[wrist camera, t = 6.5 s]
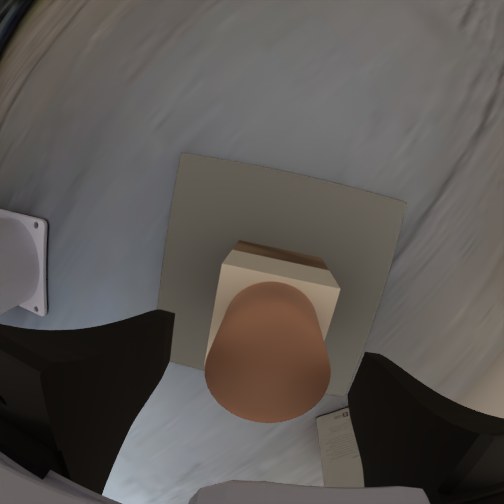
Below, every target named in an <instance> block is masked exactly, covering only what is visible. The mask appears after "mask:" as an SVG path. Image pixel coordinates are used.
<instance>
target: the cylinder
mask: <svg viewBox="0 0 504 504" xmlns="http://www.w3.org/2000/svg"><path fill="white" fill-rule="evenodd" d="M330 377H331V367H330V362H329V358H328V354H327V350H326V347H325V343H324V340H323V336H322V332H321V329H320V325H319V322H318V318H317V315H316V311H315V309H314V307H313V304H312V303H311V301H310V300H309V299H308V298H307V296H306V295H305V294H304V293H302V292H301V291H300V290H298V289H297V288H295V287H293V286H291V285H288V284H285V283H281V282H273V281H269V282H260V283H256V284H253V285H251V286H249V287H247V288H245V289H243V290H242V291H241V292H239V293H238V294H237V295H236V296H235V297H234V298H233V300H232V301H231V303H230V304H229V306H228V308H227V310H226V313H225V315H224V318H223V320H222V322H221V325H220V327H219V329H218V332H217V334H216V336H215V339H214V341H213V343H212V346H211V348H210V350H209V353H208V355H207V358H206V362H205V379H206V383H207V386H208V388H209V390H210V392H211V394H212V395H213V397H214V398H215V399H216V401H217V402H218V403H219V404H220V405H221V406H223V407H224V408H225V409H226V410H228V411H229V412H231V413H233V414H234V415H236V416H239V417H241V418H244V419H247V420H250V421H255V422H263V423H275V422H282V421H287V420H290V419H293V418H296V417H298V416H300V415H303V414H304V413H306V412H307V411H309V410H310V409H312V408H313V407H314V406H315V405H316V404H317V403H318V402H319V401H320V400H321V398H322V397H323V396H324V394H325V392H326V390H327V388H328V385H329V382H330Z"/></svg>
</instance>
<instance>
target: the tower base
mask: <svg viewBox="0 0 504 504" xmlns="http://www.w3.org/2000/svg"><path fill="white" fill-rule="evenodd" d="M232 250H237V251H241V252H246V253H250V254H255V255H260V256H264V257H269V258H273V259H278V260H283V261H287V262H292V263H296V264H301V265H306V266H310V267H315V268H320V269H324V270H329V269H328V268H327V266H326V264H325V263H324V261H323V259H322V258H320V257H315V256H310V255H306V254H301V253H297V252H292V251H288V250H283V249H278V248H274V247H269V246H265V245H260V244H255V243H251V242H246V241H241V240H239V241H238V242H237V244H236V245H235V246H234V248H233V249H232Z"/></svg>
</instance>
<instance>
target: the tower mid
mask: <svg viewBox="0 0 504 504" xmlns="http://www.w3.org/2000/svg"><path fill="white" fill-rule="evenodd" d="M269 281H273V282H281V283H285V284H288V285H291V286H293V287H295V288H297V289H298V290H300V291H301V292H302V293H304V294H305V295H306V296H307V298H308V299H309V300H310V301H311V303H312V304H313V307H314V309H315V311H316V315H317V318H318V322H319V325H320V329H321V332H322V336H323V340H324V341H325V338H326V335H327V332H328V329H329V325H330V322H331V319H332V316H333V313H334V309H335V306H336V303H337V299H338V296H339V292H340V287H339V285H338V284H337V282H336V280H335V279H334V277H333V276H332V274H331V272H330V271H329V270H324V269H320V268H315V267H310V266H306V265H301V264H296V263H292V262H287V261H283V260H278V259H273V258H269V257H264V256H260V255H255V254H250V253H246V252H241V251H237V250H232V251H231V252H230V253H229V255H228V256H227V257H226V259H225V260H224V261H223V263H222V266H221V271H220V277H219V282H218V288H217V293H216V299H215V305H214V310H213V316H212V322H211V328H210V333H209V339H208V345H207V351H206V357H205V362H206V358H207V355H208V353H209V350H210V348H211V346H212V343H213V341H214V339H215V336H216V334H217V332H218V329H219V327H220V325H221V322H222V320H223V318H224V315H225V313H226V310H227V308H228V306H229V304H230V303H231V301H232V300H233V298H234V297H235V296H236V295H237V294H238V293H239V292H241V291H242V290H243V289H245V288H247V287H249V286H251V285H253V284H256V283H260V282H269ZM204 365H205V363H204Z"/></svg>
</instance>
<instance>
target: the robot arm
mask: <svg viewBox="0 0 504 504" xmlns="http://www.w3.org/2000/svg"><path fill="white" fill-rule="evenodd" d="M37 223H38V226H37ZM46 246H47V222H46V221H45V220H44V219H40V218H36V217H32V216H28V215H24V214H20V213H16V212H12V211H8V210H4V209H0V314H2V313H4V312H6V311H8V310H10V309H12V308H14V307H16V306H20V307H22V308H25V309H27V310H29V311H31V312H33V313H35V314H38V315H40V316H45V315H46V314H47V298H46ZM37 307H38V308H37ZM174 320H175V313H173V312H169V311H165V310H161V309H158V310H154V311H150V312H147V313H144V314H141V315H138V316H135V317H131V318H128V319H125V320H121V321H118V322H114V323H110V324H106V325H102V326H97V327H91V328H84V329H75V330H35V329H25V328H18V327H13V326H7V325H2V324H0V504H122V503H119V502H116V501H114V500H112V499H109V498H107V497H104V496H102V493H103V490H104V487H105V485H106V482H107V480H108V477H109V474H110V472H111V469H112V467H113V464H114V462H115V460H116V458H117V455H118V453H119V451H120V448H121V446H122V444H123V442H124V440H125V438H126V436H127V433H128V431H129V429H130V427H131V425H132V424H133V422H134V420H135V418H136V417H137V415H138V414H139V412H140V411H141V409H142V408H143V406H144V405H145V403H146V402H147V400H148V399H149V397H150V396H151V394H152V393H153V391H154V390H155V388H156V386H157V385H158V383H159V382H160V380H161V379H162V376H163V374H164V372H165V370H166V368H167V366H168V363H169V361H170V357H171V347H172V338H173V329H174ZM348 405H349V414H350V419H351V423H352V427H353V431H354V435H355V438H356V442H357V446H358V450H359V454H360V458H361V463H362V468H363V478H364V487H360V488H347V487H318V486H303V485H292V484H283V483H274V482H267V481H238V480H231V481H227V482H223V483H219V484H215V485H211V486H207V487H203V488H200V489H199V490H198V491H197V493H196V494H195V495H194V496H193V497H192V498H191V499H190V500H189V504H504V419H503V418H498V417H495V416H491V415H487V414H484V413H481V412H477V411H475V410H472V409H470V408H467V407H464V406H462V405H460V404H458V403H456V402H454V401H452V400H450V399H448V398H446V397H444V396H442V395H440V394H439V393H437V392H435V391H434V390H432V389H430V388H429V387H427V386H426V385H424V384H423V383H421V382H420V381H418V380H417V379H415V378H414V377H413V376H411V375H410V374H409V373H407V372H406V371H404V370H403V369H402V368H400V367H399V366H398V365H396V364H395V363H393V362H392V361H391V360H389V359H388V358H386V357H384V356H383V355H381V354H376V353H369V352H365V354H364V356H363V359H362V361H361V364H360V366H359V369H358V371H357V374H356V376H355V379H354V381H353V383H352V386H351V388H350V390H349V393H348Z"/></svg>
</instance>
